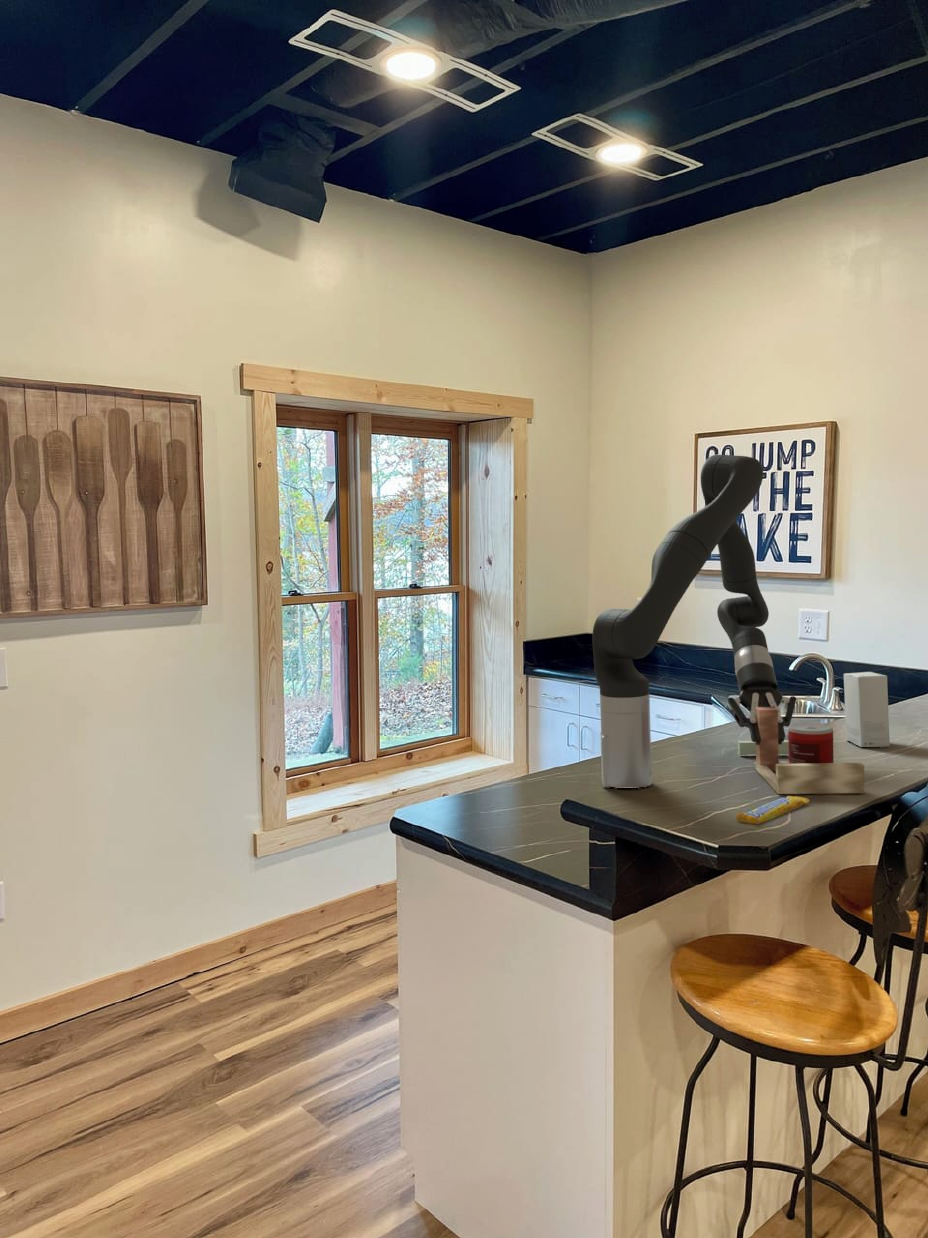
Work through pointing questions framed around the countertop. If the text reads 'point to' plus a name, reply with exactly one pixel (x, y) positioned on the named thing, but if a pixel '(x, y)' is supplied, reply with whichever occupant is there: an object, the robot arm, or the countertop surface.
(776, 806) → the candy bar
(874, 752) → the countertop surface
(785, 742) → the stop rail
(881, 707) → the skincare box
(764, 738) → the shallow wooden tray
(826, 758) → the canned food
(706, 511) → the robot arm
